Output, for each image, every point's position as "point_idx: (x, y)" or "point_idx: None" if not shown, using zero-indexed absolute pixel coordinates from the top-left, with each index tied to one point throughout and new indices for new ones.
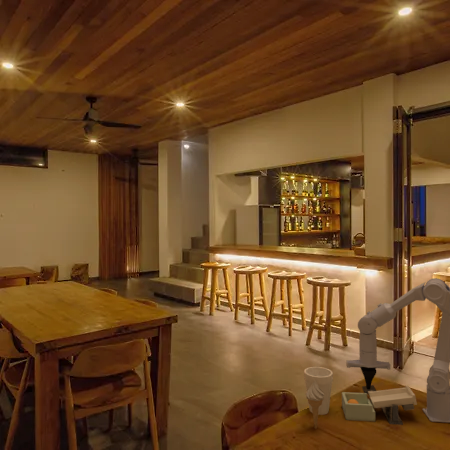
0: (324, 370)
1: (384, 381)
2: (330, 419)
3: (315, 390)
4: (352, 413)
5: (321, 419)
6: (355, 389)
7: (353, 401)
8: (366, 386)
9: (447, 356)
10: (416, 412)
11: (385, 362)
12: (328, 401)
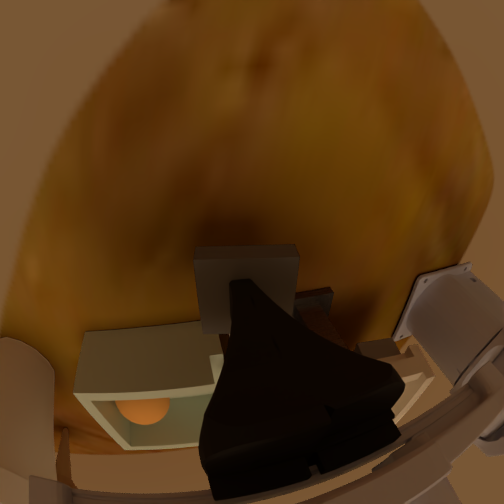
0: None
1: None
2: (79, 401)
3: None
4: None
5: (57, 402)
6: (158, 67)
7: (146, 424)
8: (230, 300)
9: None
10: (391, 296)
11: (499, 409)
12: (53, 419)
